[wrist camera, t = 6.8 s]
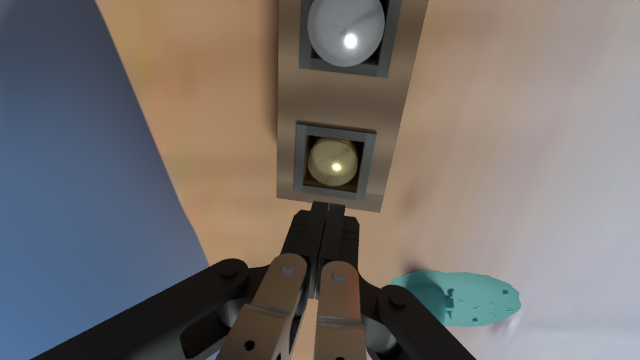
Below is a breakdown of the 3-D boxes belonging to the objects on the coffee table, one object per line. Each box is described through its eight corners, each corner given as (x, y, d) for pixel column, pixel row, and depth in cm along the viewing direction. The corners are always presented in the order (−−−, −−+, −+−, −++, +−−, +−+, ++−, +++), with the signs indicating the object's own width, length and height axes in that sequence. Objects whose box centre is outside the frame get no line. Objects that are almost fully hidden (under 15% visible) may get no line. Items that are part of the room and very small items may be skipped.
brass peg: (318, 117, 30) (309, 137, 25) (361, 123, 30) (361, 144, 25) (314, 156, 32) (306, 182, 27) (355, 162, 32) (353, 189, 27)
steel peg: (322, -16, 21) (310, -24, 16) (385, -11, 21) (391, -17, 16) (317, 51, 23) (305, 62, 18) (374, 57, 23) (376, 70, 18)
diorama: (513, 334, 43) (544, 401, 36) (374, 317, 45) (376, 377, 38) (546, 275, 37) (591, 340, 30) (384, 258, 39) (388, 316, 32)
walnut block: (298, -49, 24) (278, -66, 19) (423, -39, 23) (441, -53, 18) (289, 169, 34) (275, 199, 29) (377, 181, 33) (380, 214, 28)
